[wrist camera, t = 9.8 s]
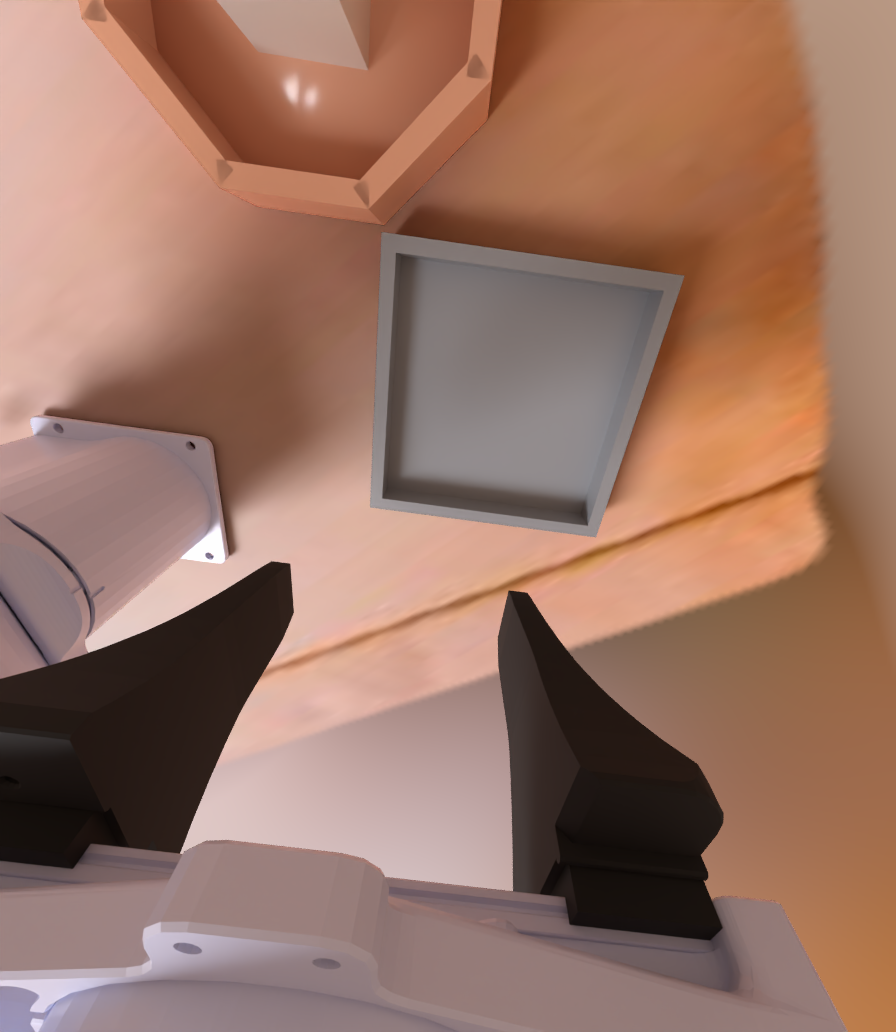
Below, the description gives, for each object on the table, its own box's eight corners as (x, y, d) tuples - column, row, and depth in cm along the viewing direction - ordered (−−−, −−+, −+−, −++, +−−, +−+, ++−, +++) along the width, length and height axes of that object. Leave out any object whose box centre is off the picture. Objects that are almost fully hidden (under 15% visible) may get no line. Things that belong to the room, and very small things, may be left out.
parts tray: (377, 492, 23) (370, 507, 21) (390, 240, 17) (381, 232, 16) (586, 520, 23) (595, 537, 21) (662, 279, 18) (684, 275, 16)
